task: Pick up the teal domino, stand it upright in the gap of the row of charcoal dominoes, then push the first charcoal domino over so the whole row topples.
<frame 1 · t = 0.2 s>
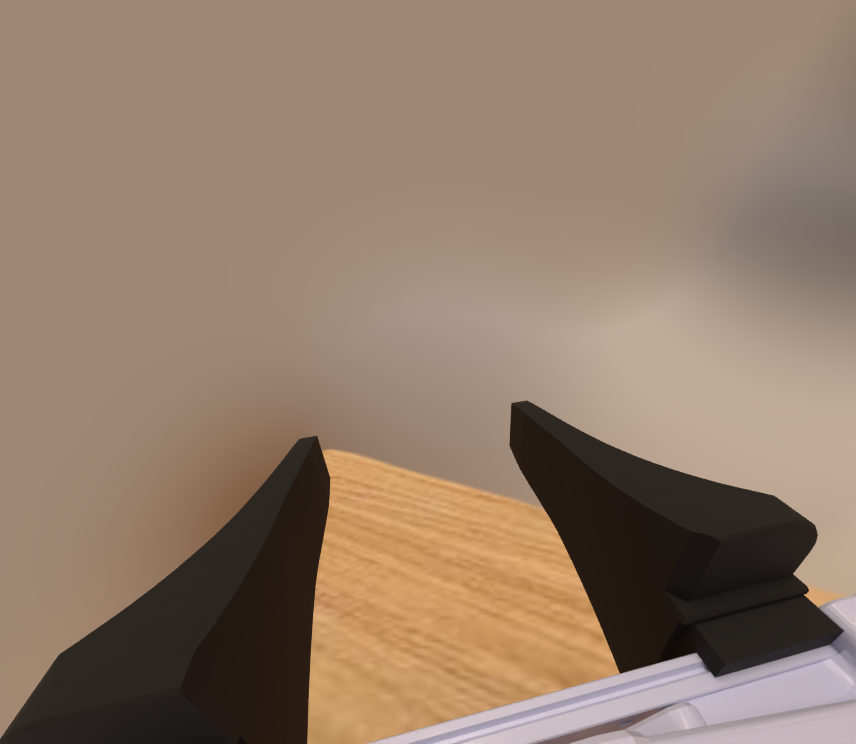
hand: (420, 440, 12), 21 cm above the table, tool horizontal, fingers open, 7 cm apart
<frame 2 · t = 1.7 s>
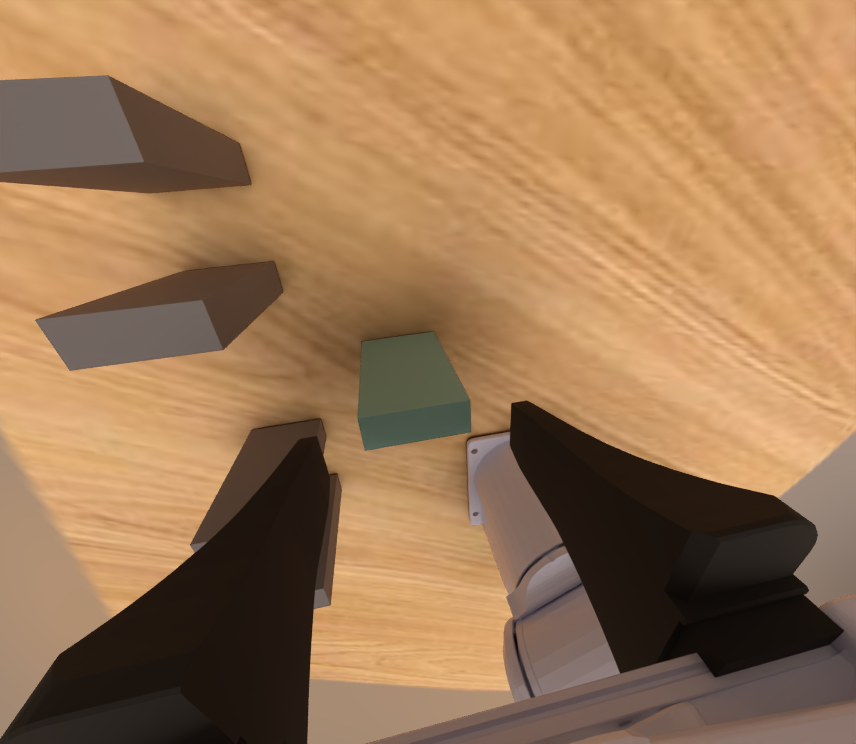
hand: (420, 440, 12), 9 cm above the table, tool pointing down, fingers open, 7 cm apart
teal domino: (399, 348, 20), on the table
domino 1: (309, 487, 23), on the table
domino 4: (234, 282, 16), on the table
domino 2: (289, 434, 21), on the table
domino 5: (193, 168, 14), on the table
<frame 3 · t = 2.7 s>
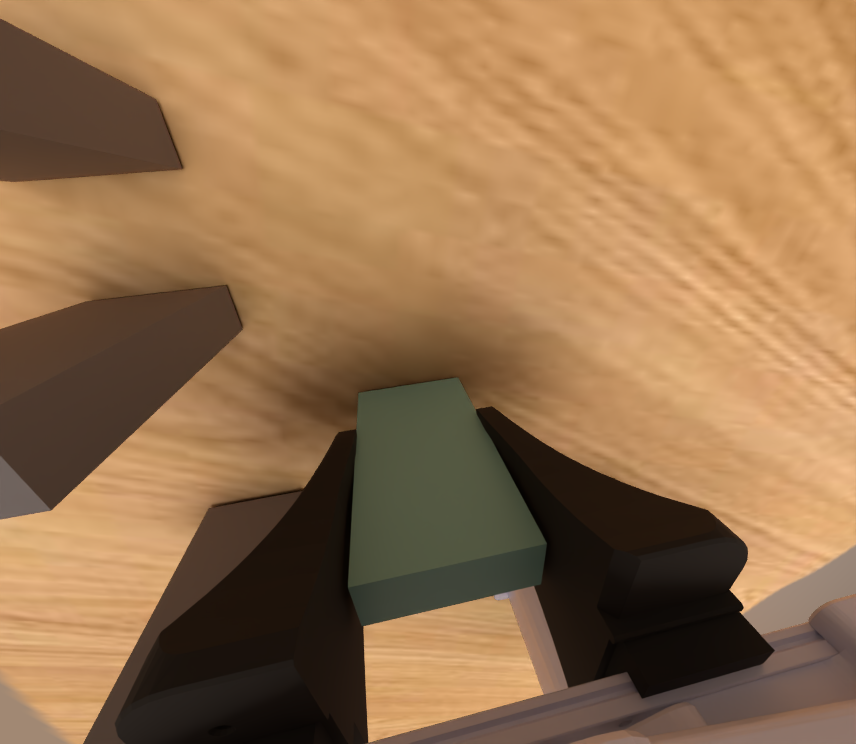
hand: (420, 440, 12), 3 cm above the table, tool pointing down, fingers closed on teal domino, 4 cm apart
teal domino: (411, 400, 14), on the table, touching gripper
domino 4: (168, 316, 11), on the table
domino 2: (262, 510, 16), on the table
domino 5: (83, 141, 9), on the table
when the fingers open (4 cm above the table, at t = 6.5 s): teal domino drops 1 cm, on the table.
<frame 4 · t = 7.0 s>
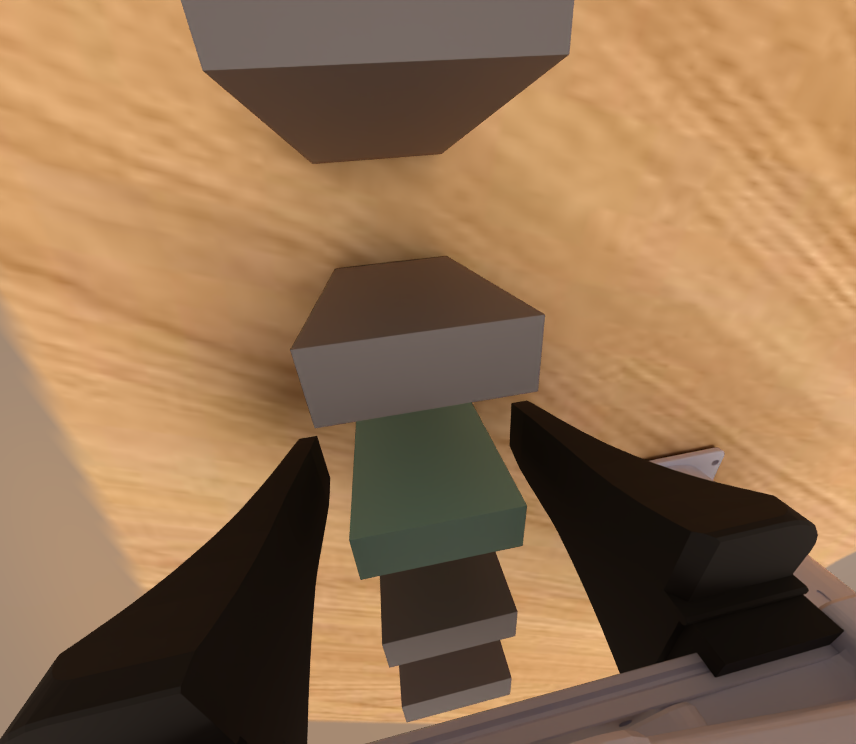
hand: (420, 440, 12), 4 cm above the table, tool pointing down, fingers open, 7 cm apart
teal domino: (408, 388, 15), on the table
domino 1: (426, 526, 20), on the table
domino 4: (394, 283, 13), on the table
domino 2: (418, 466, 17), on the table
domino 5: (374, 129, 10), on the table
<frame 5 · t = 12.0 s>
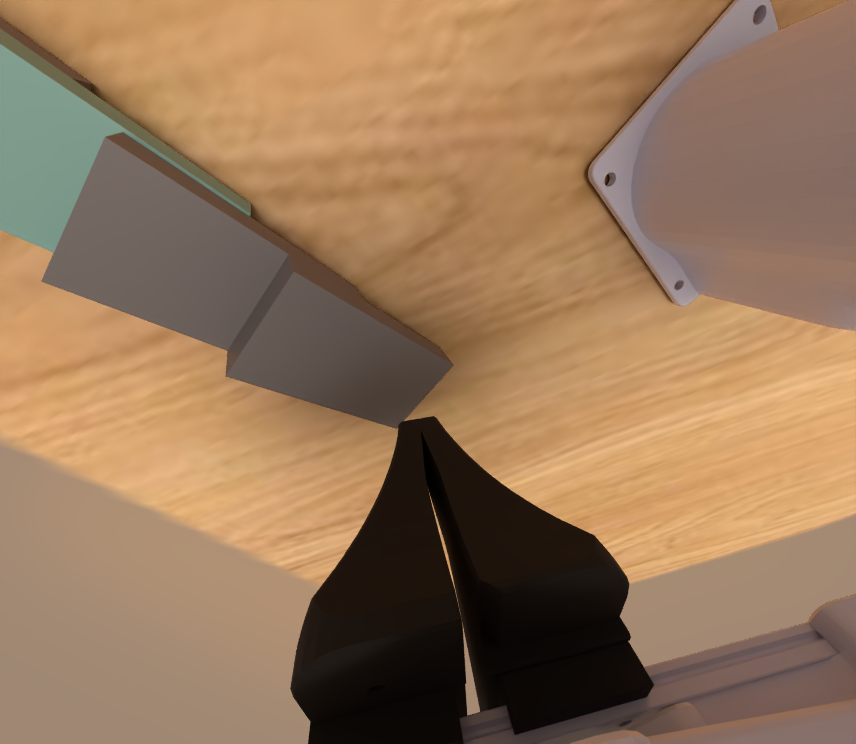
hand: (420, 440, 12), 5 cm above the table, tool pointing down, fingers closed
teal domino: (221, 257, 12), point 1 cm above the table, tilted 71°, touching domino 2, domino 4
domino 1: (417, 387, 16), point 1 cm above the table, tilted 71°, touching domino 2
domino 4: (54, 147, 10), point 1 cm above the table, tilted 77°, touching domino 5, teal domino
domino 2: (330, 333, 14), point 1 cm above the table, tilted 71°, touching domino 1, teal domino
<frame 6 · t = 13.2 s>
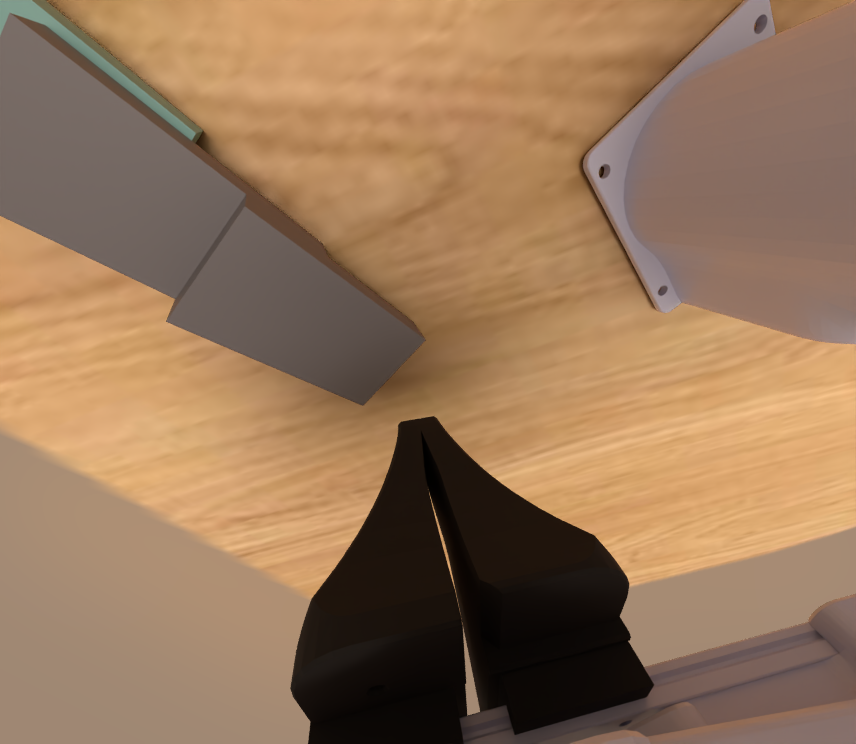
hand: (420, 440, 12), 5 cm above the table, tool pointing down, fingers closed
teal domino: (166, 187, 11), point 1 cm above the table, tilted 73°, touching domino 2, domino 4
domino 1: (388, 363, 15), point 1 cm above the table, tilted 72°, touching domino 2
domino 2: (292, 291, 13), point 1 cm above the table, tilted 72°, touching domino 1, teal domino
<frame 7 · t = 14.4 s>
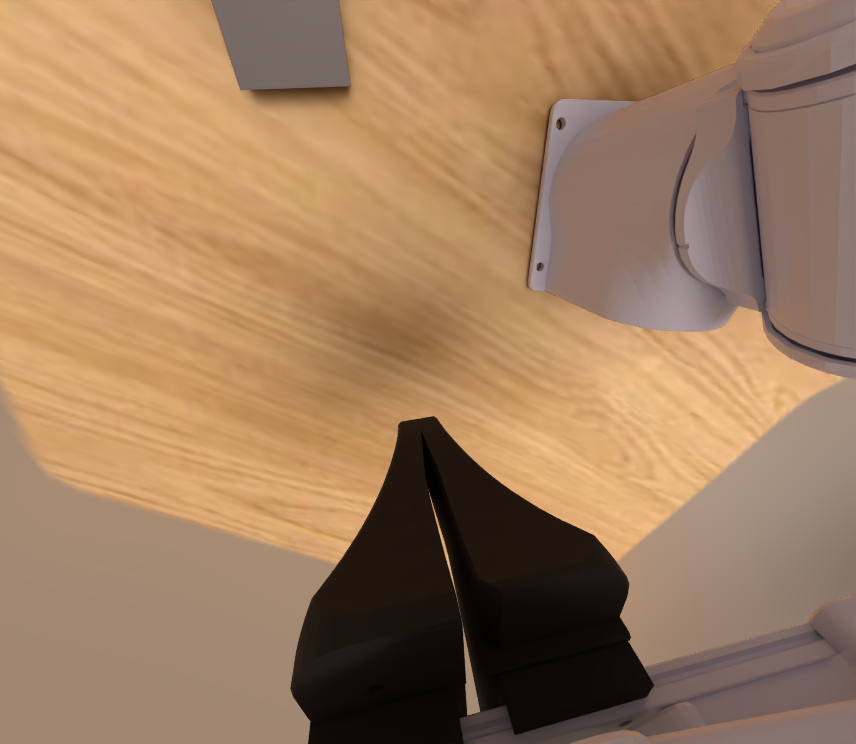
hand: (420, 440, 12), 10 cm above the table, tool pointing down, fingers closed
domino 1: (298, 86, 14), point 1 cm above the table, tilted 73°, touching domino 2
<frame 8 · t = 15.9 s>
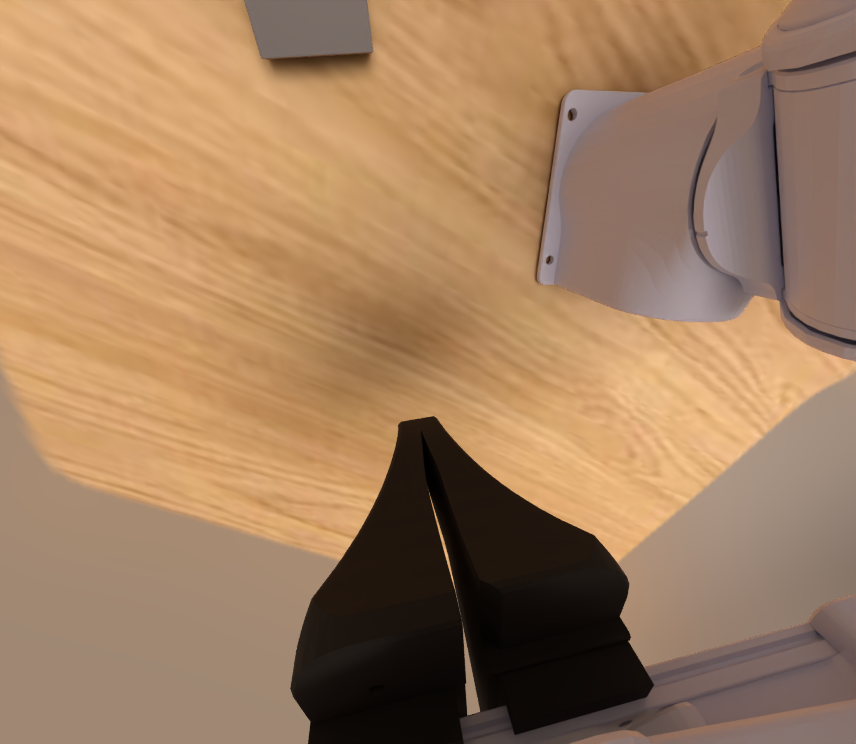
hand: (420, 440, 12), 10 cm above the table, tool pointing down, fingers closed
domino 1: (319, 55, 13), point 1 cm above the table, tilted 74°, touching domino 2
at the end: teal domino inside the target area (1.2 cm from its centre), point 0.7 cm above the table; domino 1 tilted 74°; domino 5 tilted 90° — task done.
